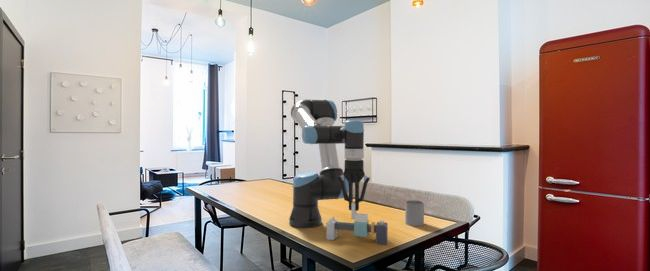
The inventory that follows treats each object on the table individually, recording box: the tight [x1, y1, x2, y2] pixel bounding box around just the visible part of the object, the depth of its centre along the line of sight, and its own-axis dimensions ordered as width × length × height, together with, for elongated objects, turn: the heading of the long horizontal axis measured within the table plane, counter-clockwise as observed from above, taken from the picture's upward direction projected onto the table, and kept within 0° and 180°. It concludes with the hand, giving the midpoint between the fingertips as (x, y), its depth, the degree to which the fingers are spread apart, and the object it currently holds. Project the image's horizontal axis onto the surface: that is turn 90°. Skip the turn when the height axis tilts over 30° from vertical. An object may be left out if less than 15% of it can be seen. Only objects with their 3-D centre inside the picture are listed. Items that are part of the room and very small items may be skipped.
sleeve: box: [353, 212, 370, 238], centre depth 126 cm, size 5×5×8 cm
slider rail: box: [326, 216, 389, 246], centre depth 127 cm, size 24×6×8 cm, turn 74°
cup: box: [404, 199, 425, 227], centre depth 149 cm, size 8×8×10 cm
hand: (353, 218), depth 127 cm, fingers closed
